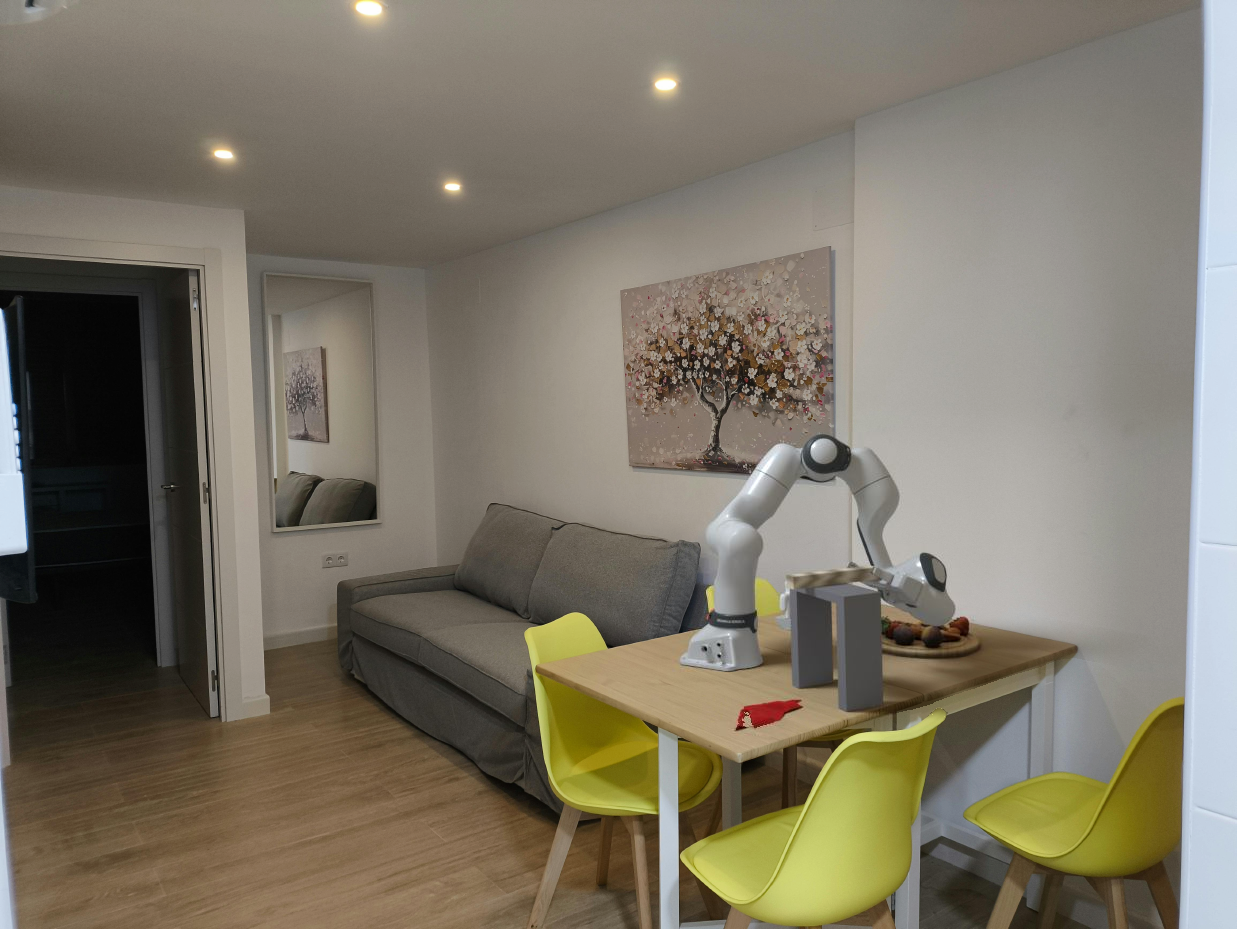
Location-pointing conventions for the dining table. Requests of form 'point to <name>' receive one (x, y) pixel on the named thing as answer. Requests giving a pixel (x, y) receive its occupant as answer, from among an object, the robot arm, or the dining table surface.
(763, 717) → the cloth
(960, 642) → the wooden plate with food
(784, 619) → the figurine
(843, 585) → the grey arch
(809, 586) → the maple bar
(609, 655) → the dining table surface
